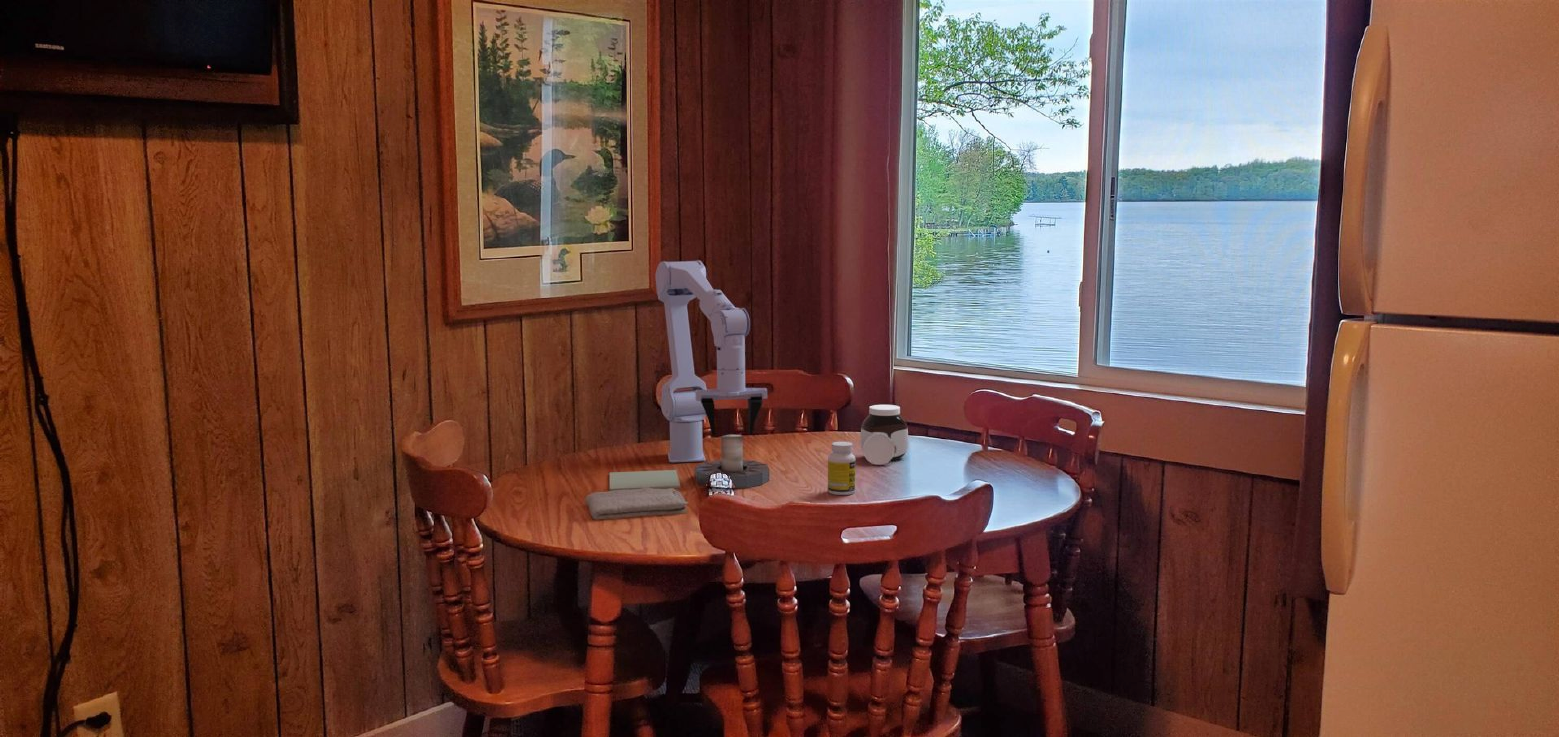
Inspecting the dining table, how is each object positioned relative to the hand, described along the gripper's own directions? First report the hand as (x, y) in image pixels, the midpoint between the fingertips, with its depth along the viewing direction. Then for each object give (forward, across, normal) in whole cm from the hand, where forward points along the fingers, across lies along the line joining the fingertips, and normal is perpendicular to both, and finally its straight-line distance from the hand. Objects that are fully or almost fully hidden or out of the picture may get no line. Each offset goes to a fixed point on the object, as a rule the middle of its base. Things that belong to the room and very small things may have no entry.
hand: (731, 434), depth 222 cm
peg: (+10, 0, 0) cm, 10 cm away
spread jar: (+10, +35, +12) cm, 38 cm away
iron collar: (+10, 0, 0) cm, 10 cm away
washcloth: (+10, -20, -19) cm, 30 cm away
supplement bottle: (+10, +20, -14) cm, 26 cm away
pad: (+10, -18, +2) cm, 20 cm away
